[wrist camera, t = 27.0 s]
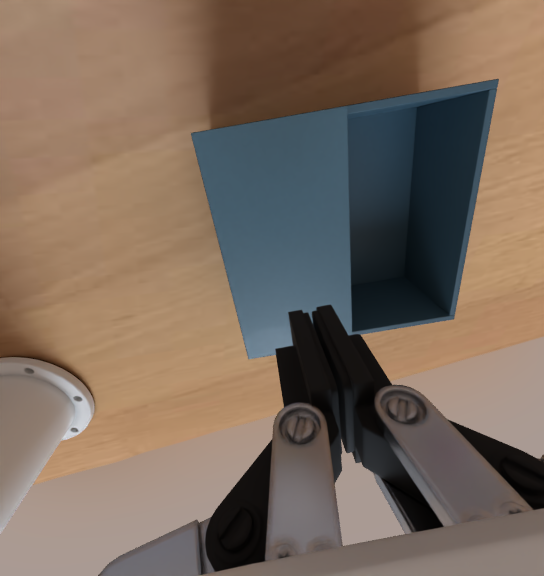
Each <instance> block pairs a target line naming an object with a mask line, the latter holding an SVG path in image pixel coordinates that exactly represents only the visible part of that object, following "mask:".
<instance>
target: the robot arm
mask: <svg viewBox="0 0 544 576" xmlns="http://www.w3.org/2000/svg"><path fill="white" fill-rule="evenodd" d="M288 315H289V322H290V329H291V335H292V342H293V346H287V347H282V348H276V349H275V351H276V358H277V364H278V371H279V377H280V384H281V390H282V397H283V403H284V408H283V409H282V410H281V411H279V413H278V414H277V416H276V418H275V420H274V425H273V438H272V440H271V441H270V443H269V444H268V445H267V446H266V448H265V449H264V450H263V451H262V453H261V454H260V455H259V457H258V458H257V459H256V460H255V461H254V463H253V464H252V465H251V467H250V468H249V469H248V470H247V471H246V473H245V474H244V475H243V476H242V478H241V479H240V480H239V482H238V483H237V484H236V485H235V487H234V488H233V489H232V490H231V492H230V493H229V494H228V495H227V496H226V498H225V499H224V500H223V501H222V503H221V504H220V505H219V506H218V508H217V509H216V510H215V512H214V514H213V515H212V517H210V518H208V519H206V520H204V521H202V522H200V523H199V522H198V520H195V521H193V522H191V523H189V524H187V525H185V526H182V527H180V528H178V529H176V530H174V531H172V532H169V533H167V534H165V535H163V536H161V537H159V538H157V539H155V540H153V541H150V542H148V543H146V544H144V545H142V546H140V547H138V548H135V549H133V550H131V551H129V552H127V553H125V554H123V555H121V556H119V557H118V558H116V559H115V560H113V561H112V562H110V563H109V564H108V565H107V566H106V567H105V568H104V570H103V571H102V572H101V573H100V574H99V575H98V576H544V455H542V458H541V459H537V458H535V457H533V456H531V455H529V454H527V453H525V452H523V451H521V450H519V449H517V448H514V447H512V446H509V445H507V444H505V443H502V442H499V441H497V440H495V439H493V438H490V437H488V436H485V435H483V434H481V433H478V432H476V431H474V430H471V429H469V428H466V427H464V426H462V425H459V424H457V423H455V422H452V421H450V420H447V419H446V418H445V417H444V416H443V415H442V413H441V412H440V411H438V409H437V408H436V407H435V406H434V405H433V404H432V403H431V402H430V401H429V400H428V399H427V398H426V397H425V396H424V395H422V394H421V393H420V392H419V391H417V390H415V389H413V388H411V387H407V386H403V385H392V384H391V382H390V381H389V379H388V378H387V376H386V374H385V373H384V371H383V370H382V368H381V367H380V365H379V363H378V362H377V360H376V359H375V357H374V355H373V354H372V352H371V351H370V349H369V348H368V346H367V344H366V343H365V341H364V340H363V338H362V337H361V335H360V334H353V335H348V333H347V332H346V330H345V328H344V326H343V325H342V323H341V321H340V319H339V318H338V316H337V314H336V312H335V311H334V309H333V307H332V305H324V306H319V307H317V308H316V311H312V320H313V323H312V321H311V318H310V316H309V313H308V312H306V313H303V311H302V310H297V311H291V312H288ZM93 414H94V401H93V398H92V395H91V394H90V392H89V390H88V389H87V388H86V387H85V385H84V384H83V383H82V382H81V381H80V380H79V379H77V378H76V377H75V376H74V375H72V374H71V373H69V372H67V371H66V370H64V369H62V368H60V367H58V366H55V365H53V364H50V363H47V362H44V361H41V360H36V359H31V358H22V357H7V358H0V534H1V532H2V531H3V529H4V528H5V526H6V525H7V523H8V522H9V520H10V519H11V517H12V515H13V514H14V512H15V511H16V509H17V508H18V506H19V505H20V503H21V502H22V500H23V499H24V497H25V495H26V494H27V492H28V491H29V489H30V488H31V486H32V485H33V483H34V482H35V480H36V479H37V477H38V475H39V474H40V472H41V471H42V469H43V468H44V466H45V465H46V463H47V462H48V460H49V459H50V457H51V455H52V454H53V452H54V451H55V449H56V448H57V446H58V445H59V443H60V442H61V440H66V439H69V438H71V437H74V436H76V435H78V434H79V433H81V432H82V431H83V430H84V429H85V428H86V427H87V426H88V424H89V422H90V421H91V419H92V417H93ZM341 439H342V442H343V445H344V448H345V451H346V453H350V452H352V453H353V456H354V459H355V462H356V463H359V462H362V465H363V466H364V467H365V468H367V469H369V470H370V471H372V472H373V473H374V477H375V479H376V482H377V484H378V485H379V487H380V489H381V491H382V492H383V494H384V496H385V498H386V500H387V501H388V504H389V505H390V507H391V509H392V511H393V513H394V514H395V516H396V518H397V520H398V521H399V523H400V525H401V527H402V529H403V531H404V532H405V534H404V535H399V536H393V537H388V538H383V539H378V540H372V541H368V542H362V543H357V544H352V545H347V546H343V545H342V539H341V538H342V537H341V531H340V522H339V514H338V507H337V499H336V491H335V482H336V480H337V478H338V477H339V475H340V473H341V471H342V464H341V454H342V447H341Z"/></svg>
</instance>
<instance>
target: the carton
mask: <svg viewBox="0 0 544 576" xmlns="http://www.w3.org/2000/svg"><path fill="white" fill-rule="evenodd" d="M498 81H499V79H494V80H489V81H483V82H477V83H472V84H466V85H461V86H455V87H449V88H444V89H438V90H432V91H427V92H421V93H415V94H410V95H404V96H398V97H393V98H387V99H381V100H376V101H370V102H364V103H359V104H353V105H347V126H348V170H349V215H350V259H351V303H352V335H353V334H360V335H361V334H367V333H373V332H379V331H385V330H391V329H397V328H403V327H409V326H415V325H422V324H428V323H434V322H440V321H446V320H452V319H454V316H455V311H456V305H457V300H458V295H459V289H460V284H461V279H462V273H463V268H464V263H465V257H466V252H467V247H468V241H469V236H470V231H471V225H472V220H473V215H474V209H475V204H476V198H477V193H478V188H479V182H480V177H481V172H482V166H483V161H484V156H485V150H486V145H487V140H488V134H489V129H490V124H491V118H492V113H493V108H494V102H495V97H496V91H497V89H496V88H497V86H498ZM330 109H331V108H330ZM313 112H314V111H313Z"/></svg>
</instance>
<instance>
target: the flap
mask: <svg viewBox="0 0 544 576" xmlns="http://www.w3.org/2000/svg"><path fill="white" fill-rule="evenodd" d="M191 136H192V140H193V144H194V148H195V152H196V156H197V159H198V163H199V167H200V171H201V175H202V179H203V183H204V187H205V191H206V195H207V199H208V202H209V206H210V210H211V214H212V218H213V222H214V226H215V230H216V234H217V238H218V242H219V245H220V249H221V253H222V257H223V261H224V265H225V269H226V273H227V277H228V281H229V285H230V288H231V292H232V296H233V300H234V304H235V308H236V312H237V316H238V320H239V324H240V328H241V332H242V335H243V339H244V343H245V347H246V351H247V355H248V359H253V358H259V357H265V356H271V355H276V351H275V349H276V348H282V347H287V346H293V342H292V335H291V329H290V322H289V315H288V312H291V311H297V310H302V311H303V313H306V312H308V313H309V316H310V318H311V321H312V323H313V320H312V311H316V308H317V307H319V306H324V305H332V307H333V309H334V311H335V312H336V314H337V316H338V318H339V319H340V321H341V323H342V325H343V326H344V328H345V330H346V332H347V333H348V335H352V303H351V259H350V215H349V170H348V126H347V106H342V107H336V108H331V109H325V110H319V111H314V112H308V113H302V114H296V115H291V116H285V117H279V118H274V119H268V120H262V121H257V122H251V123H245V124H240V125H234V126H228V127H223V128H217V129H211V130H206V131H200V132H194V133H191Z"/></svg>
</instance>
